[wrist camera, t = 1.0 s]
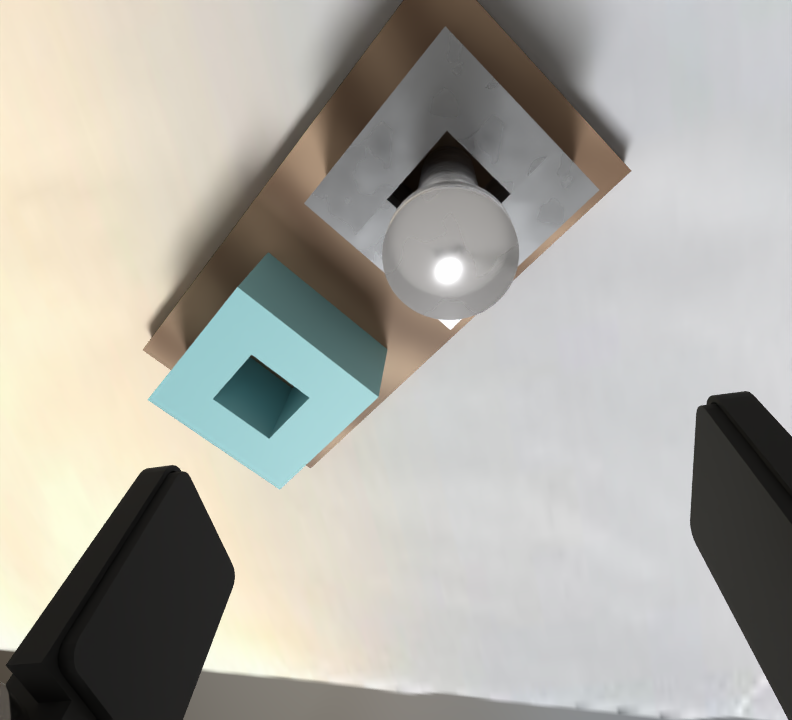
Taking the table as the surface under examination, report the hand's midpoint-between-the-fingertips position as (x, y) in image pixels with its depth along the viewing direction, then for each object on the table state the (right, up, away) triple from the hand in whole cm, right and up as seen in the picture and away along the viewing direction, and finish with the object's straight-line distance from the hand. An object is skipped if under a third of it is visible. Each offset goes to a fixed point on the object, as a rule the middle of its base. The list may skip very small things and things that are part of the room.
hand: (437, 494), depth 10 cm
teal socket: (-8, +3, +28) cm, 30 cm away
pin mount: (+2, +13, +22) cm, 26 cm away
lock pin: (+2, +13, +22) cm, 26 cm away
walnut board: (-3, +9, +26) cm, 28 cm away
